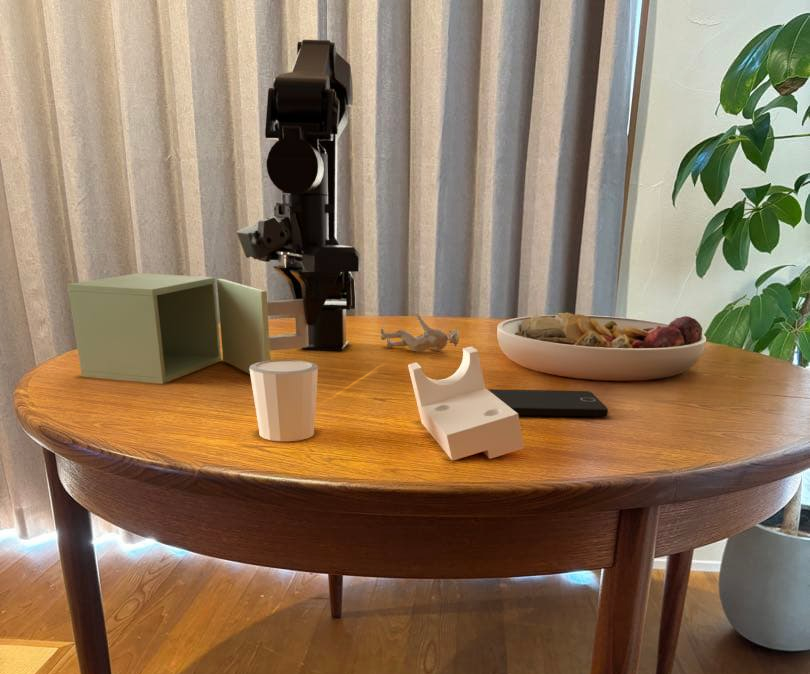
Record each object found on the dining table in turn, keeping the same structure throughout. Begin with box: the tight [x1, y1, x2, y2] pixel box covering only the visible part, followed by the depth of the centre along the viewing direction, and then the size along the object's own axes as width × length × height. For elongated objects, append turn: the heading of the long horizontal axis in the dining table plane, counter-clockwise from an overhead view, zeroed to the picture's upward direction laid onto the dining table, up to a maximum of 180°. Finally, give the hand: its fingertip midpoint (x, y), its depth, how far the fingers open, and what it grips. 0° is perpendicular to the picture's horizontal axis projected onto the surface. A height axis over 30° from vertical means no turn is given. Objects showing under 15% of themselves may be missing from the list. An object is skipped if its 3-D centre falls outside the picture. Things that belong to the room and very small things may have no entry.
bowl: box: [496, 311, 707, 382], centre depth 113 cm, size 30×30×8 cm
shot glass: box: [249, 359, 319, 442], centre depth 77 cm, size 7×7×7 cm
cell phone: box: [486, 388, 609, 418], centre depth 90 cm, size 9×18×1 cm, turn 91°
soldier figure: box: [380, 313, 460, 353], centre depth 120 cm, size 8×5×12 cm
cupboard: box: [67, 272, 222, 385], centre depth 103 cm, size 12×16×12 cm
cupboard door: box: [216, 278, 309, 375], centre depth 104 cm, size 7×16×11 cm, turn 33°
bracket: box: [407, 345, 525, 461], centre depth 77 cm, size 13×7×8 cm, turn 12°
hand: (307, 324), depth 101 cm, fingers closed on cupboard door, 2 cm apart
